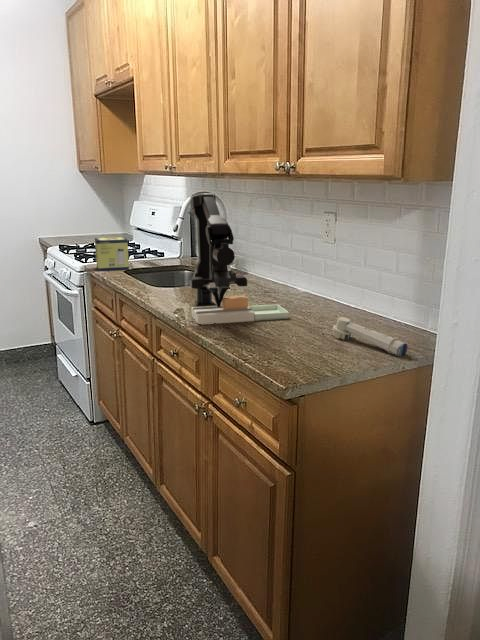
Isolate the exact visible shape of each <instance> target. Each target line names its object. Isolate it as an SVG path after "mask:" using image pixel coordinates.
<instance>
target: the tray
mask: <svg viewBox="0 0 480 640" xmlns="http://www.w3.org/2000/svg"><path fill="white" fill-rule="evenodd" d="M248 307H249V308H252V311H254V322H257V321H275V320H286V319H287V320H289V319H290V312H289V311H288V310H287V309H285V308H284V307H283V306H281V305H279V304H276V303H275V304H261V305H248Z"/></svg>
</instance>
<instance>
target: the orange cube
mask: <svg viewBox="0 0 480 640" xmlns="http://www.w3.org/2000/svg"><path fill="white" fill-rule="evenodd" d="M233 296H234V297H235V298H236V309H244V308H248V306H249V297H247V296H246V295H233Z"/></svg>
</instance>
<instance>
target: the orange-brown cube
mask: <svg viewBox="0 0 480 640" xmlns="http://www.w3.org/2000/svg"><path fill="white" fill-rule="evenodd" d="M234 296H235V295H232V296H223V299H222V302H221V306H222V309H223V310H228V309H236V298H235V297H234Z"/></svg>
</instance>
